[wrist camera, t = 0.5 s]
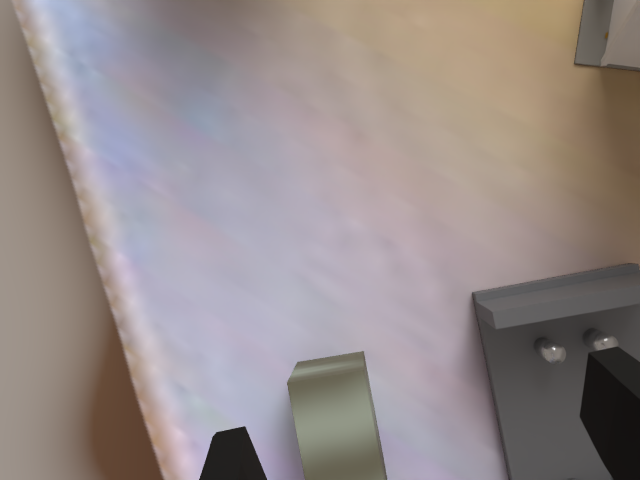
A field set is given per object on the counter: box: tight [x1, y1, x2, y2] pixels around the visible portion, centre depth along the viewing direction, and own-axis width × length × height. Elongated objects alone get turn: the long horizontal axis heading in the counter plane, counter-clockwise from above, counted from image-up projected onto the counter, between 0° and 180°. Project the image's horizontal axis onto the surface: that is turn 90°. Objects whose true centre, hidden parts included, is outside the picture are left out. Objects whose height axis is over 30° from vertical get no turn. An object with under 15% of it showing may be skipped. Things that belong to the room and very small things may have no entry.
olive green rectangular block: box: [287, 351, 387, 480], centre depth 33 cm, size 12×4×5 cm, turn 11°
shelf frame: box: [472, 263, 640, 480], centre depth 31 cm, size 17×10×5 cm, turn 11°
